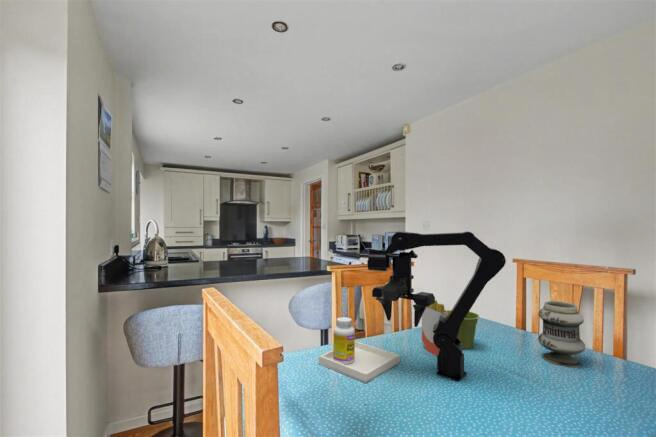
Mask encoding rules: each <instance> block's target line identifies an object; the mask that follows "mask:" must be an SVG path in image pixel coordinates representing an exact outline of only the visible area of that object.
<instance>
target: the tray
mask: <svg viewBox="0 0 656 437" xmlns="http://www.w3.org/2000/svg"><path fill="white" fill-rule="evenodd" d="M400 361H401V355H400V354H399V353H398V354H397V353H395V352H391V351H388V350H385V349H382V348H378V347H376V346H372V345H369V344H365V343H363V342H359V341H356V340H355V355H354V361H353V362H352V363H350V364H342V363H339V362H337V361H334V359H333V349H332V350H330V351H327V352H325V353H322V354H321V355H318V365H319V366H323V367H325V368H328V369H331V370H333V371H335V372H338V373H340V374H342V375H344V376H347V377H349V378H351V379H355V380H357V381H359V382H362V383H364V384H368V383H370V382H371V381H372V380H374V379H376V378H378V377H380V376H381V375H382V374H384V373H386V372H388V371H389V370H391V369H392V368H394V367H395V366H396V365H398V364H400V363H401V362H400Z"/></svg>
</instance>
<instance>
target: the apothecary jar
mask: <svg viewBox="0 0 656 437" xmlns="http://www.w3.org/2000/svg"><path fill="white" fill-rule="evenodd" d="M543 304H544V305H543V307H542V308H540V309H539V311H538V312H537V313H538V316H539V318H540V320H542V332H541V333H540V334H539V335H538V338H537V340H538V342H539V344H540V345H541V347H543V348H545V349H546V350H549V351H550V352H545V353H543V354H542V358H543V359H544V360H546V361H547V362H549V363H552V364H555V365H558V366H566V367H568V368H569V367H570V368H576V367H577V366H578V367H580V366H581V365H582V363H581V361H580V360H578V358H576V357H573V356H574V355H579V354H582V353H583V352H584V351H585V349H586V344H585V342H584V341H583V340H582V339H581V337H580V336H581V334H580V325H582V324H584V321H585V318H584V316H583V315H582V313H580V312H579V310H578V307H577V305H576V304H574V303H571V302H567V301H558V300H549V301H545V302H544V303H543Z"/></svg>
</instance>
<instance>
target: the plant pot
mask: <svg viewBox="0 0 656 437" xmlns="http://www.w3.org/2000/svg"><path fill="white" fill-rule="evenodd" d="M451 310H452V309H451ZM451 310H450V311H451ZM446 312H447V310H446ZM479 318H480V315H479V314H478V313H477V312H473V311H469V312H468V314H467V315H466V317H465V318H464V320H463V322H462V323H461V326H460V329H459V332H458V335H457V338H458V339H459V340H460V341H461V342H462V349H466V350H468V349H472V348H473V347H474V341H475V336H476V329H477V328H476V327H477V325H478V324H477V323H478V319H479Z"/></svg>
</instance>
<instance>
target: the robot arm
mask: <svg viewBox="0 0 656 437" xmlns="http://www.w3.org/2000/svg"><path fill="white" fill-rule="evenodd" d="M436 246H437V247H438V246H440V247H441V246H443V247H444V246H445V247H447V246H465V247H467V248H468V249H469V250H471V251H472V252H473V253H474V254H475V255H476V256H478V260H477V262H476V266H475V269H474V273H473V274H472V276H471V278H470V280H469V281H468V283H467V284H466V286H465V288H464V289H463V291H462V293H461V294H460V296H459V297H458V299H457V301H456V302H455V304H454V305H453V307H452V309H451V312H450V313H449V314H448V315H447V316H446V317H445V318H444V317H442V316H441V315H440V317H439V320H438V322H437V323H436V324H435V325H434V327H433V333H434V335H433V342H434V344H435V345H436V347H438V348H439V349H440V351H439V355H438V356H436V366H437V367H436V369H437V371H436V374H435V375H437V376H439V377H440V376H441V377H443V378H447V379H449V380H452V381H455V382H461V381H462V379H463V378H465V376H466V375H467V371H465V353H463V348H462V342H461V341H460V340H459V339H458V338H457V335H458V332H459V329H460V326H461V323H462V322H463V320H464V318H465V317H466V315H467V314H468V312H469V311H470V310H471V309H472V307H473V306H474V304H475V303H476V301H477V299H478V298H479V296H480V295H481V293H482V292H483V290H484V288H485V286H486V285H487V284H488V283H489V281H491V280H492V279H493V278H494V277H495V276H497V275H498V273H499V272H500V271H501V270H502V269H503V268H504V267H505V265H506V261H507V260H506V257H505V255H504V253H503V252H501V251H500V250H499V249H496V248H491V247H489V246H488V245H486V244H485V243H484V242H483V241H481V240H480V239H479V238H478V237H477V236H475V234H474V233H472V232H470V231H462V232H442V233H419V232H413V231H412V232H410V231H397V232H394V233H393V235H392V236H391V239H390V244H389V245H388V246H387V247H386V249H375V248H371V249H369V253H368V257H367V270H368V271H369V272H370V271H373V272H374V271H375V272H388V270H389V269H391V268H392V275H390V276H389V281H388V282H387V283H386V284H384V285H379V286H375V287H373V288H372V291H371V297H372V298H375V300H376V301H378V302H379V303H380V304H381V306H382V308H383V312H384V314H385V317H386V319H387V321H389V322H390V321H391V318H392V311H393V309H392V308H393V302H398V301H399V299H403V300H410V301H413V302H414V304H413V305H412V307H413V310H414V317H413V318H414V319H413V320H414V321H413V323H414V327H415V328H417V327H418V326H419V324H420V322H421V320H422V315H423V312H424V311H425V309H426V307H428V306H430V305H431V304H434V303H435V300H436V296H435V295H434V293H431V292H425V291H420V292H417V293H414V288H412V287H413V286H412V285H413V284H412V280H413V279H414V274H413V275H412V259H417V258H418V257H419V255H418V254H417V253H416V252H415V251H414V250H413V249H417V248H421V247H422V248H423V247H436ZM406 250H407V251H406ZM408 250H410V251H408ZM398 251H399V254H394V253H397V252H398ZM401 251H402V252H401ZM470 312H471V311H470Z"/></svg>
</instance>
